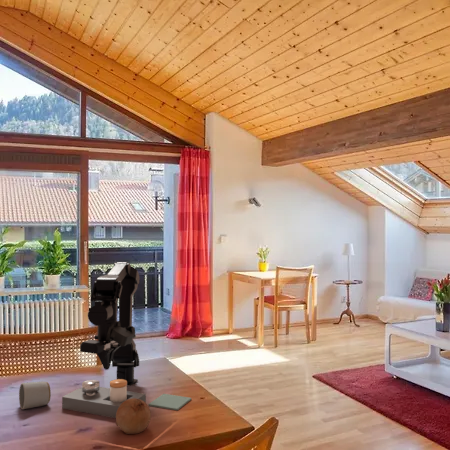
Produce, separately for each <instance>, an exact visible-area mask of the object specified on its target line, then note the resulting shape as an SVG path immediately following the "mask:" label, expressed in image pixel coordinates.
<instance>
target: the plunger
mask: <svg viewBox="0 0 450 450" xmlns="http://www.w3.org/2000/svg"><path fill="white" fill-rule="evenodd" d="M81 383H82V384H81V387H82V392H84V393H86V395H90V396H93V395H95V392H98V391H99V387H100V381H99V380H97V379H88V380H85V381H83V382H81Z"/></svg>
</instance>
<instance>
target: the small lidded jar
mask: <svg viewBox="0 0 450 450" xmlns="http://www.w3.org/2000/svg"><path fill="white" fill-rule="evenodd" d="M127 386H128V385H127V381H126V380H124V379H117V378H116V379H113V380H111V381H109V388H110V401H113V402H119V403H122V402H124V401H126V400H127V391H128V390H127V389H128V388H127Z"/></svg>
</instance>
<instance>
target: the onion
mask: <svg viewBox="0 0 450 450" xmlns="http://www.w3.org/2000/svg"><path fill="white" fill-rule="evenodd" d="M151 416H152V414H151V409H150V406H148V404H147V403H145V402H144V401H142V400H140V399H136V398H132V399H128V400H126V401H124V402H123V403H122V404H121V405H120V406H119V408H118V410H117V413H116V418H115V420H116V421H115V425H116V426H117V427H119V428H120V430H121V431H122V432H123V433H125V434H127V435H128V434H129V435H130V434H131V435H132V434H133V435H134V434H135V435H136V434H139V433H142V432H143V431H145V430H146V428H147V427H148V426H149V424H150V422H151V418H152V417H151Z"/></svg>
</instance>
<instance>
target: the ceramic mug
mask: <svg viewBox="0 0 450 450" xmlns="http://www.w3.org/2000/svg"><path fill="white" fill-rule="evenodd" d="M18 389H19V390H18V395H19V396H18V398H19V399H18V401H19V407H20V409H21V410H28V409H33V408H37V407H43V406H46V405H48V404H49V403H50V401H51V393H52V392H51V390H52V389H51V386H50V384H49V382H48V381H43V380H42V381H33V382H21V384H20V386H19V388H18Z"/></svg>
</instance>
